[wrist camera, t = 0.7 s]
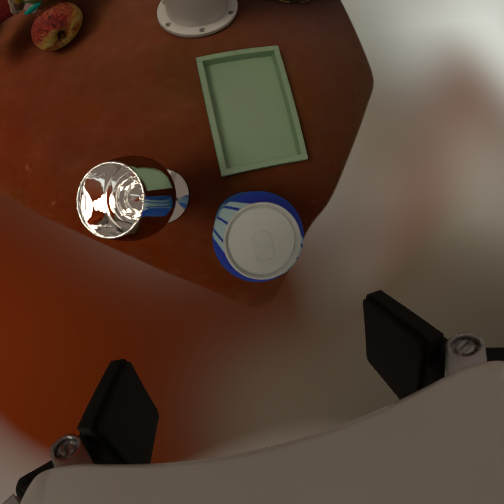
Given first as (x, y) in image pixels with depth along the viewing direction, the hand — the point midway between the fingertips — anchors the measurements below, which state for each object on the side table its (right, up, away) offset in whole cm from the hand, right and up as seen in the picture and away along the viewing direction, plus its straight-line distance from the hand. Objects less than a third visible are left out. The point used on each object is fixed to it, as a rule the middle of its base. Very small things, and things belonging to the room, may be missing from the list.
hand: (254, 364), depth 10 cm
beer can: (-1, +8, +30) cm, 31 cm away
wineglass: (-12, +12, +28) cm, 32 cm away
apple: (-34, +45, +14) cm, 58 cm away
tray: (0, +24, +26) cm, 36 cm away
